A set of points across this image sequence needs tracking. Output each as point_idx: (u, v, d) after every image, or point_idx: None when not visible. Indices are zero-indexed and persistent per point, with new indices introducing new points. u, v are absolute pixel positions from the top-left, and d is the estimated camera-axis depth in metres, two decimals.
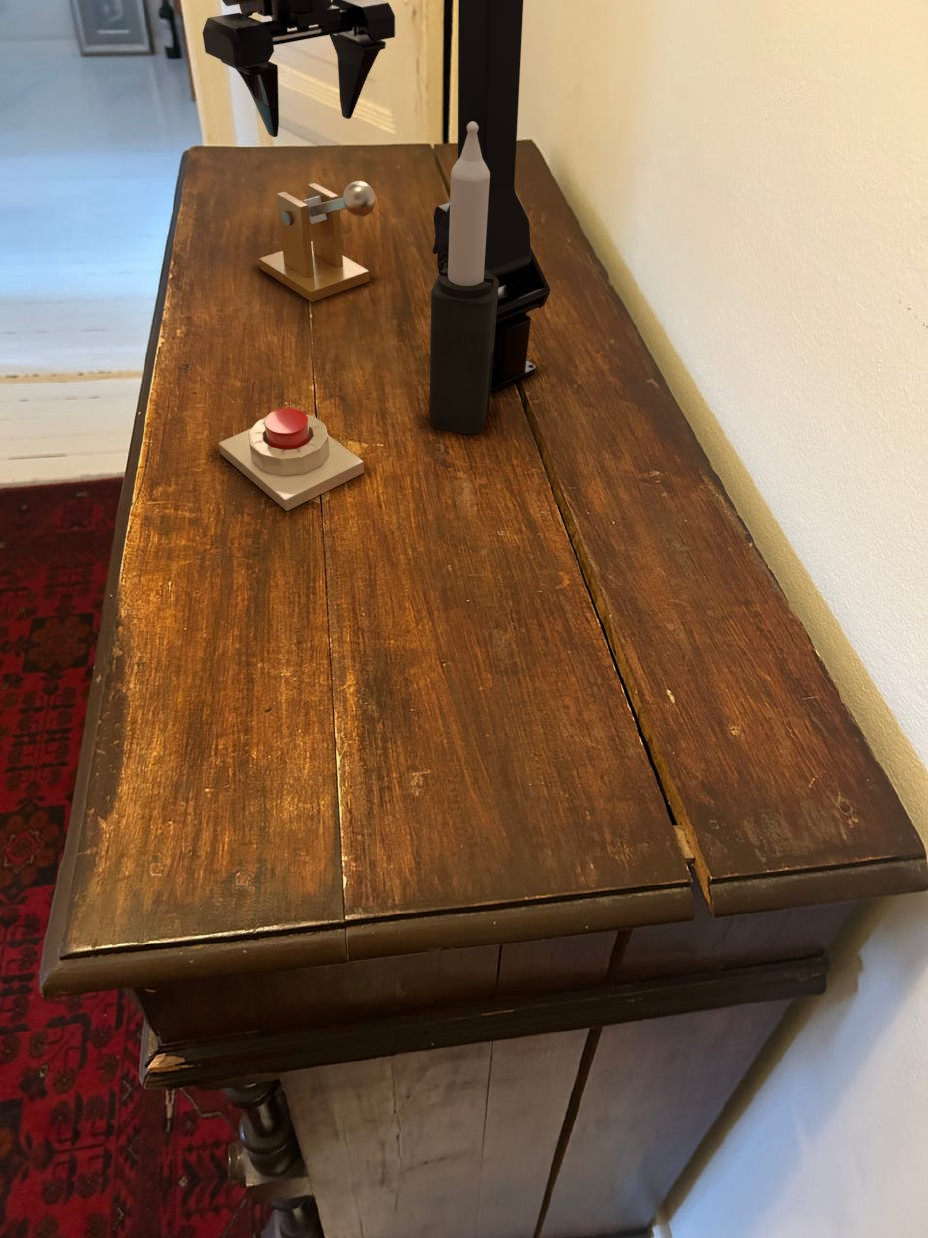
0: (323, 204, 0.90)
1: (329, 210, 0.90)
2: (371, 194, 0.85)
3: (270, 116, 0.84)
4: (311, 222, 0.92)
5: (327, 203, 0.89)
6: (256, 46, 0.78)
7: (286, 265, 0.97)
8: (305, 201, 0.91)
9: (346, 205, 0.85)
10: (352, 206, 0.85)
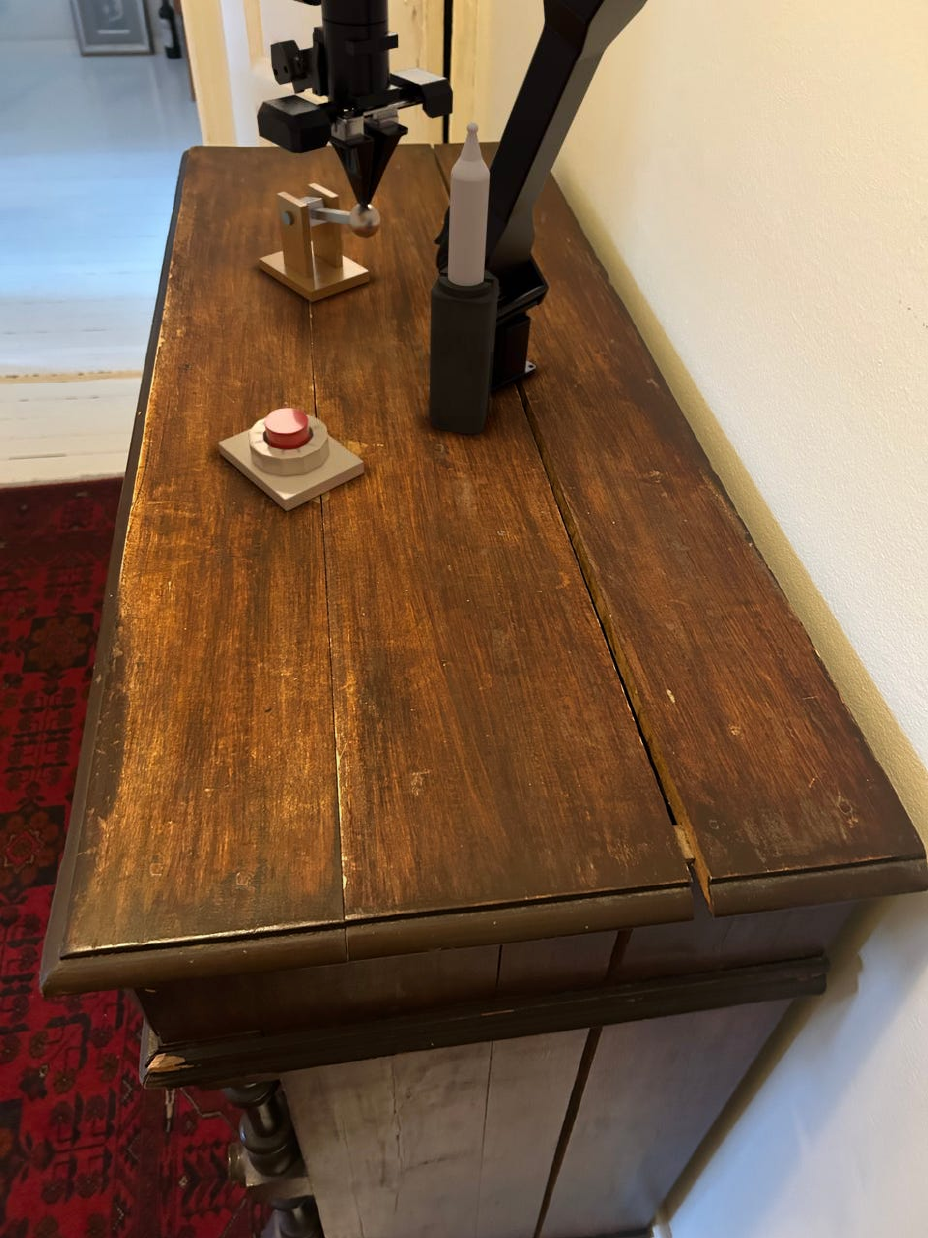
0: (325, 213, 0.90)
1: (331, 220, 0.90)
2: (377, 219, 0.86)
3: (362, 187, 0.83)
4: (311, 225, 0.93)
5: (330, 213, 0.90)
6: (314, 132, 0.74)
7: (286, 265, 0.97)
8: (307, 204, 0.91)
9: (351, 227, 0.86)
10: (357, 229, 0.86)
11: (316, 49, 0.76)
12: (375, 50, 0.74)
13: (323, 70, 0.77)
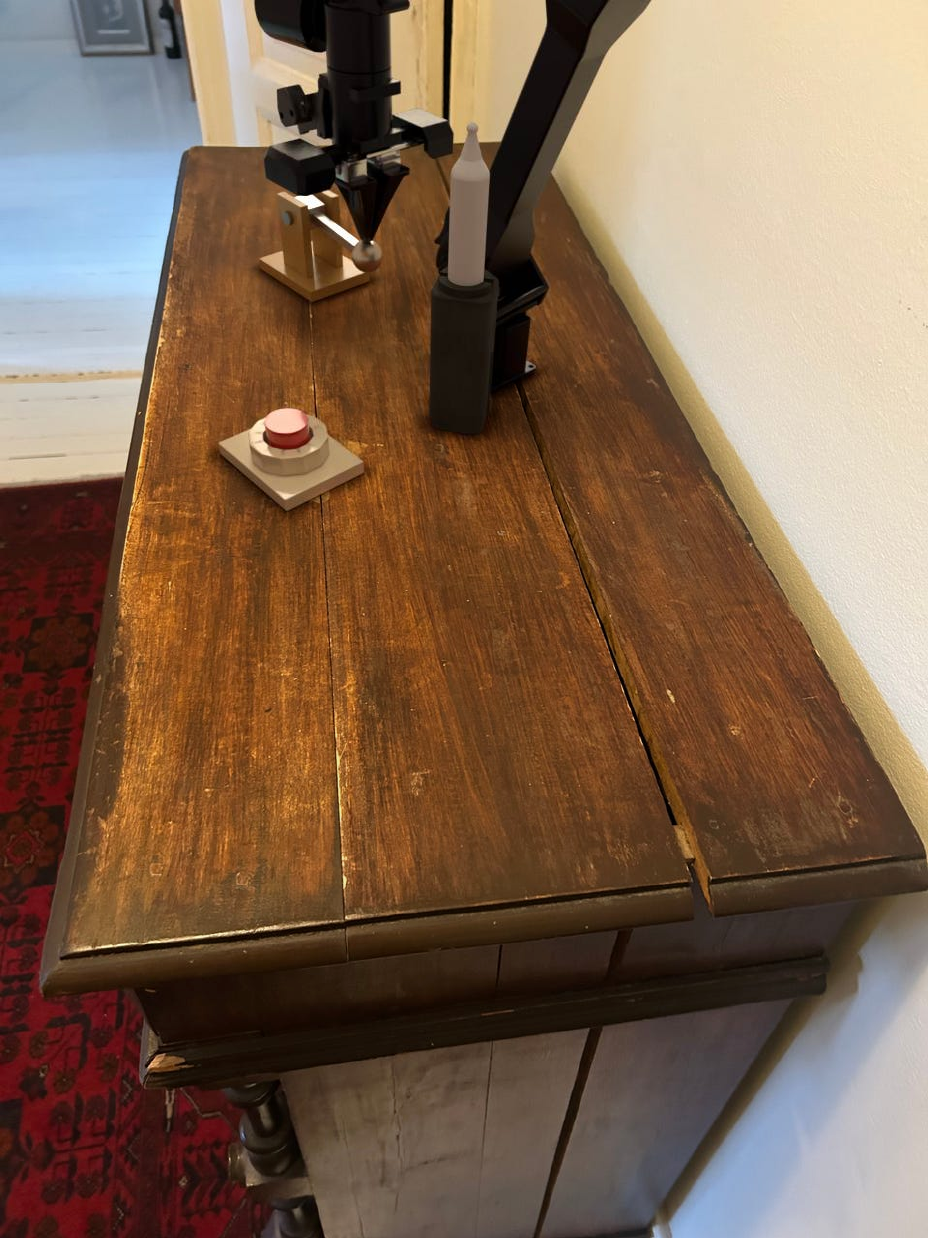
0: (328, 227, 0.91)
1: (331, 236, 0.91)
2: (380, 260, 0.89)
3: (365, 225, 0.86)
4: None
5: (332, 231, 0.91)
6: (319, 176, 0.77)
7: (286, 265, 0.97)
8: (309, 210, 0.92)
9: (353, 261, 0.89)
10: (359, 266, 0.89)
11: (321, 94, 0.79)
12: (379, 97, 0.77)
13: (328, 114, 0.80)
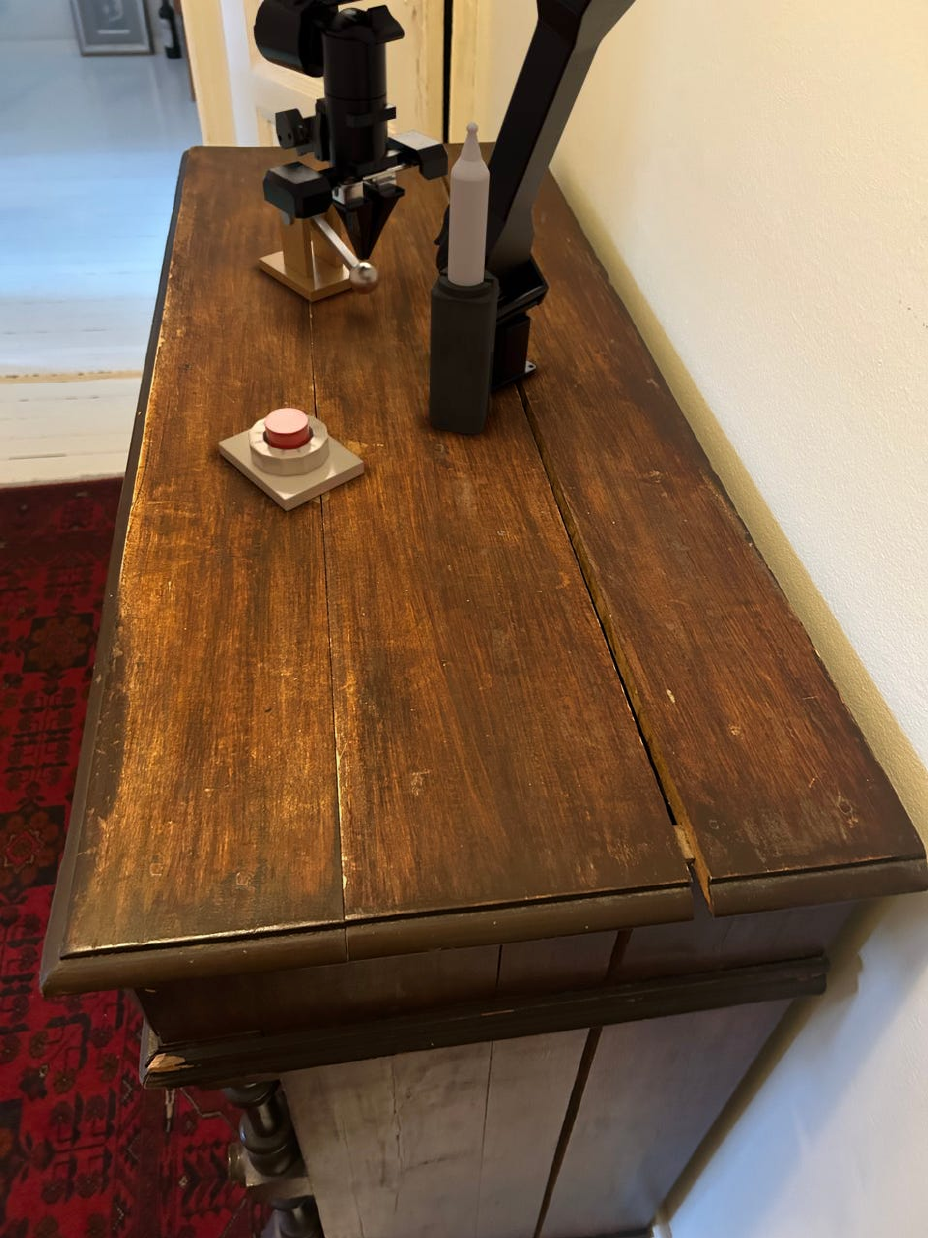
0: (327, 237, 0.92)
1: (330, 247, 0.93)
2: (376, 286, 0.92)
3: (361, 244, 0.88)
4: None
5: (332, 243, 0.92)
6: (316, 199, 0.79)
7: (286, 265, 0.97)
8: None
9: (350, 283, 0.91)
10: (355, 289, 0.91)
11: (318, 119, 0.81)
12: (374, 122, 0.79)
13: (325, 138, 0.82)
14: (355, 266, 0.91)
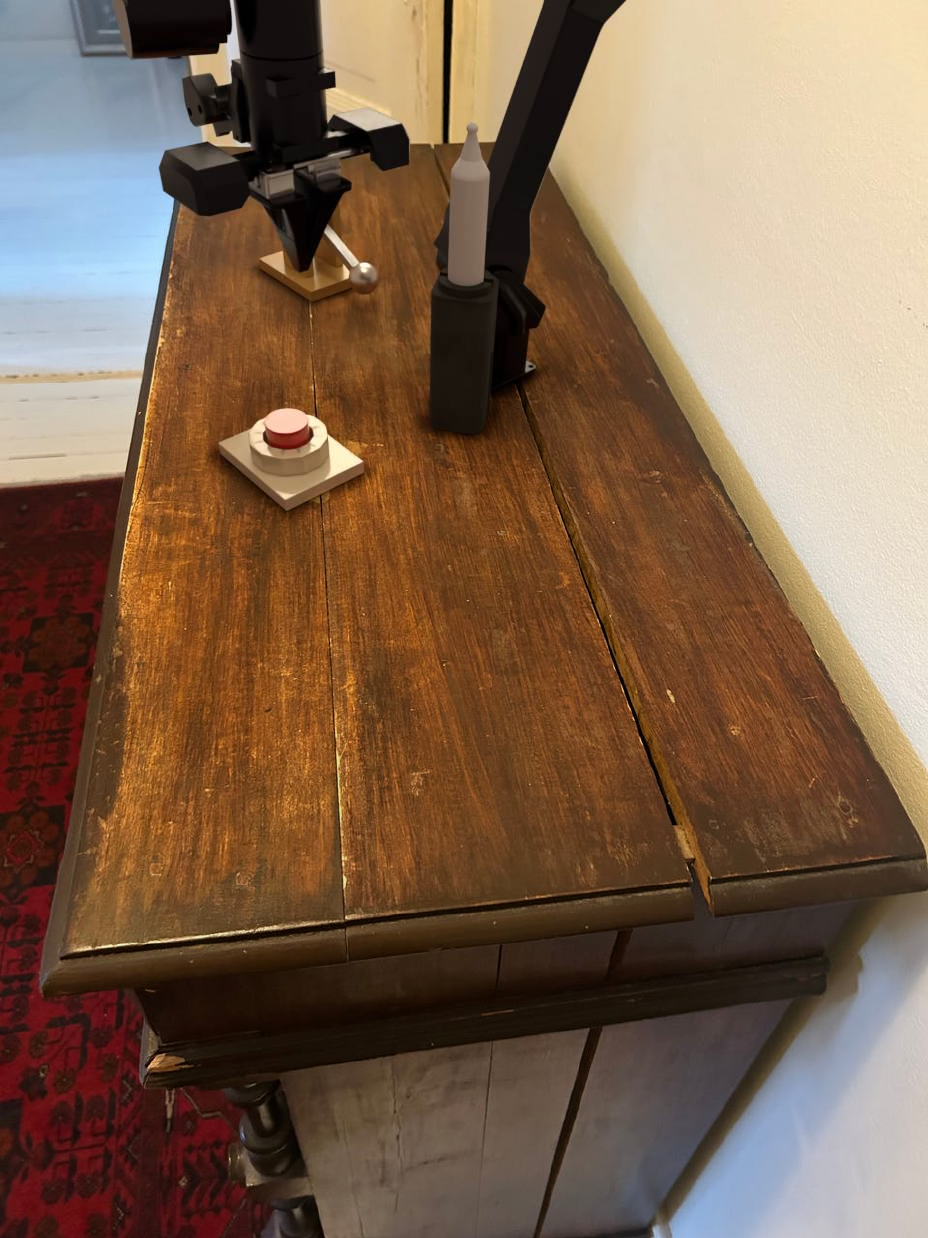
0: (327, 237, 0.92)
1: (330, 247, 0.93)
2: (376, 286, 0.92)
3: (296, 251, 0.68)
4: None
5: (332, 243, 0.92)
6: (226, 190, 0.60)
7: (286, 265, 0.97)
8: None
9: (350, 283, 0.91)
10: (355, 289, 0.91)
11: (235, 86, 0.62)
12: (305, 91, 0.60)
13: (245, 112, 0.63)
14: (355, 266, 0.91)
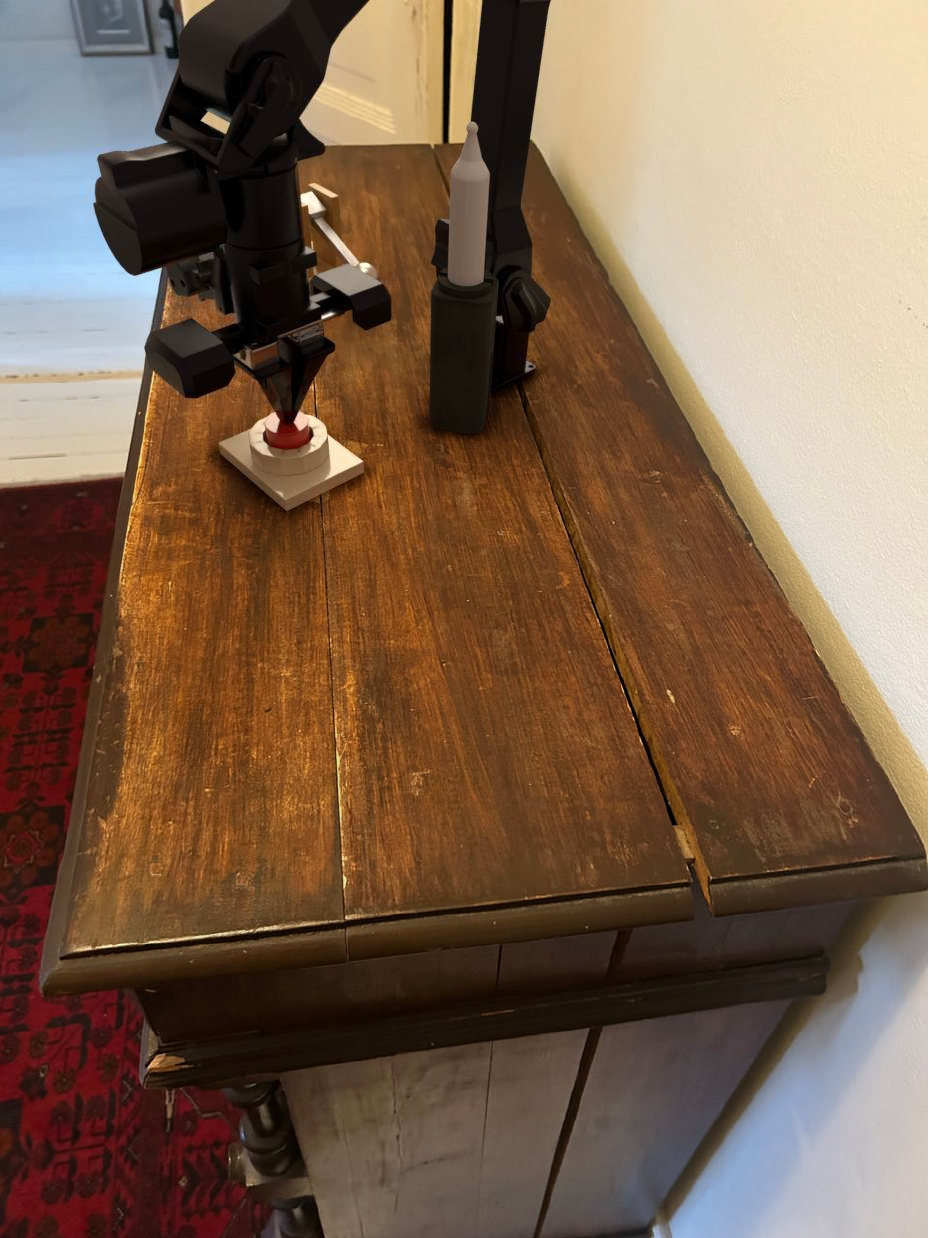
0: (327, 237, 0.92)
1: (330, 247, 0.93)
2: None
3: (281, 409, 0.69)
4: None
5: (332, 243, 0.92)
6: (212, 373, 0.60)
7: None
8: (311, 215, 0.92)
9: None
10: None
11: (217, 265, 0.62)
12: (287, 274, 0.60)
13: (227, 287, 0.63)
14: (355, 266, 0.91)
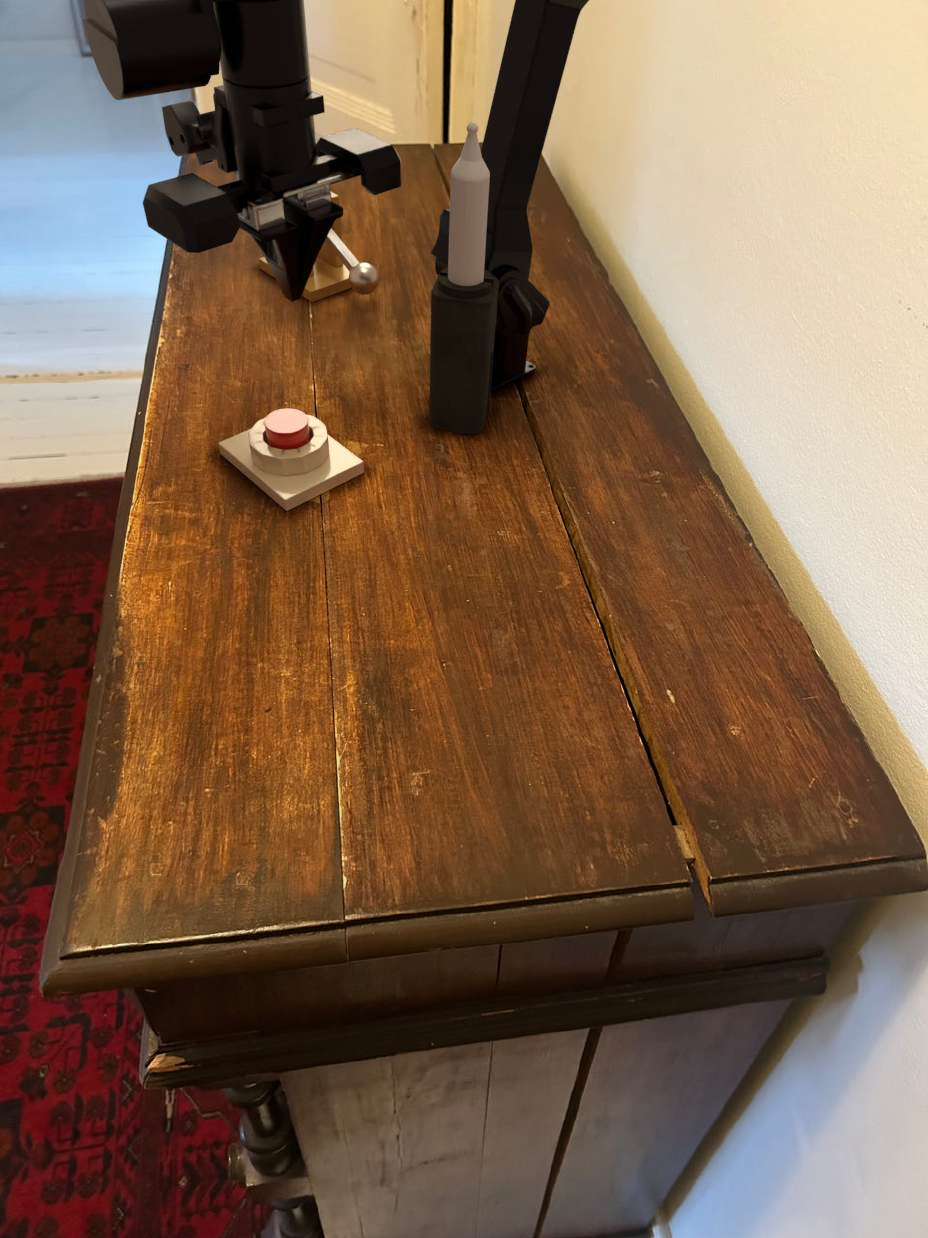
0: (327, 237, 0.92)
1: (330, 247, 0.93)
2: (376, 286, 0.92)
3: (287, 281, 0.66)
4: None
5: (332, 243, 0.92)
6: (215, 225, 0.57)
7: None
8: None
9: (350, 283, 0.91)
10: (355, 289, 0.91)
11: (219, 114, 0.59)
12: (293, 118, 0.57)
13: (229, 140, 0.60)
14: (355, 266, 0.91)
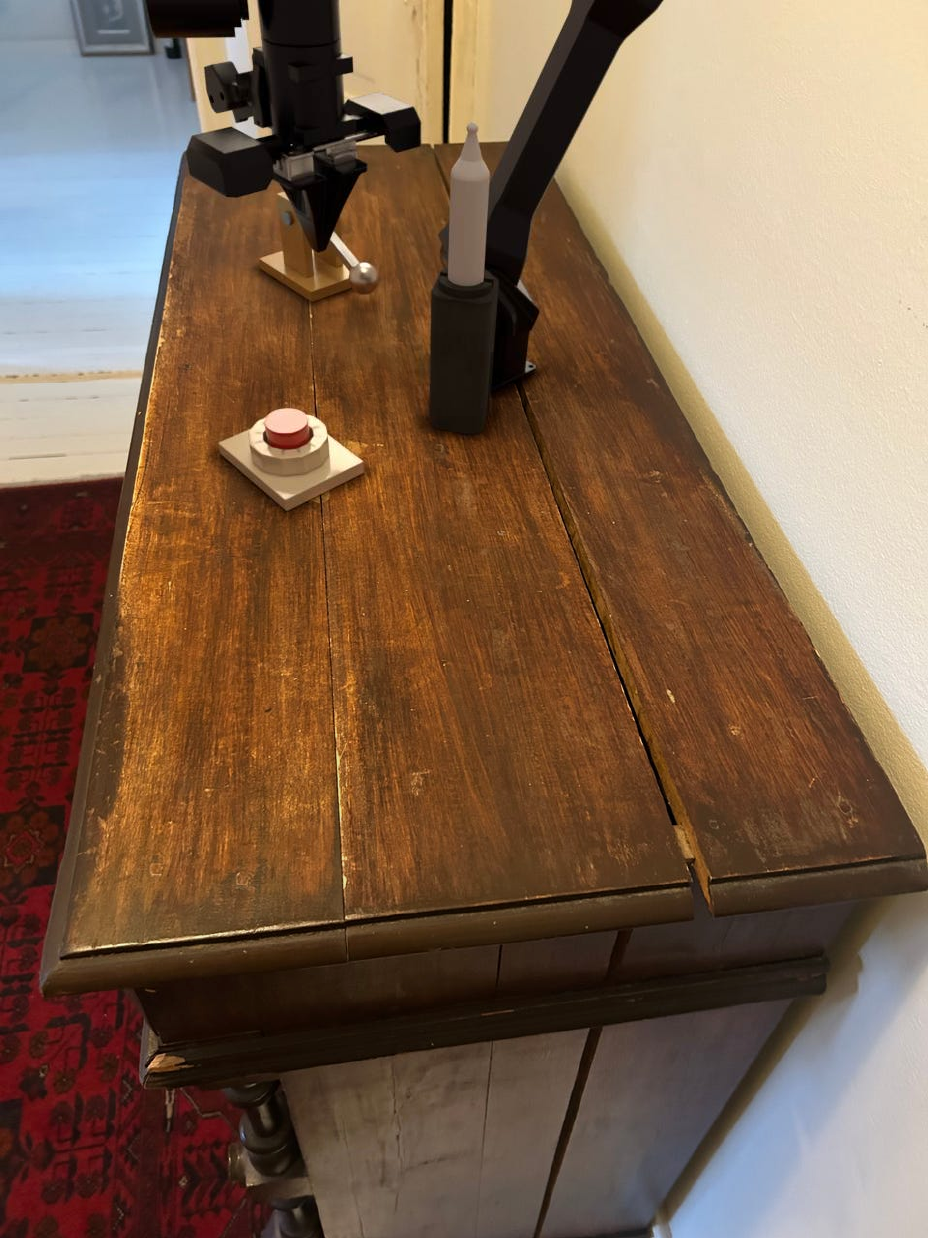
0: None
1: (330, 247, 0.93)
2: (376, 286, 0.92)
3: (314, 232, 0.71)
4: None
5: (332, 243, 0.92)
6: (252, 172, 0.63)
7: (286, 265, 0.97)
8: None
9: (350, 283, 0.91)
10: (355, 289, 0.91)
11: (256, 73, 0.65)
12: (325, 76, 0.63)
13: (265, 98, 0.65)
14: (355, 266, 0.91)
